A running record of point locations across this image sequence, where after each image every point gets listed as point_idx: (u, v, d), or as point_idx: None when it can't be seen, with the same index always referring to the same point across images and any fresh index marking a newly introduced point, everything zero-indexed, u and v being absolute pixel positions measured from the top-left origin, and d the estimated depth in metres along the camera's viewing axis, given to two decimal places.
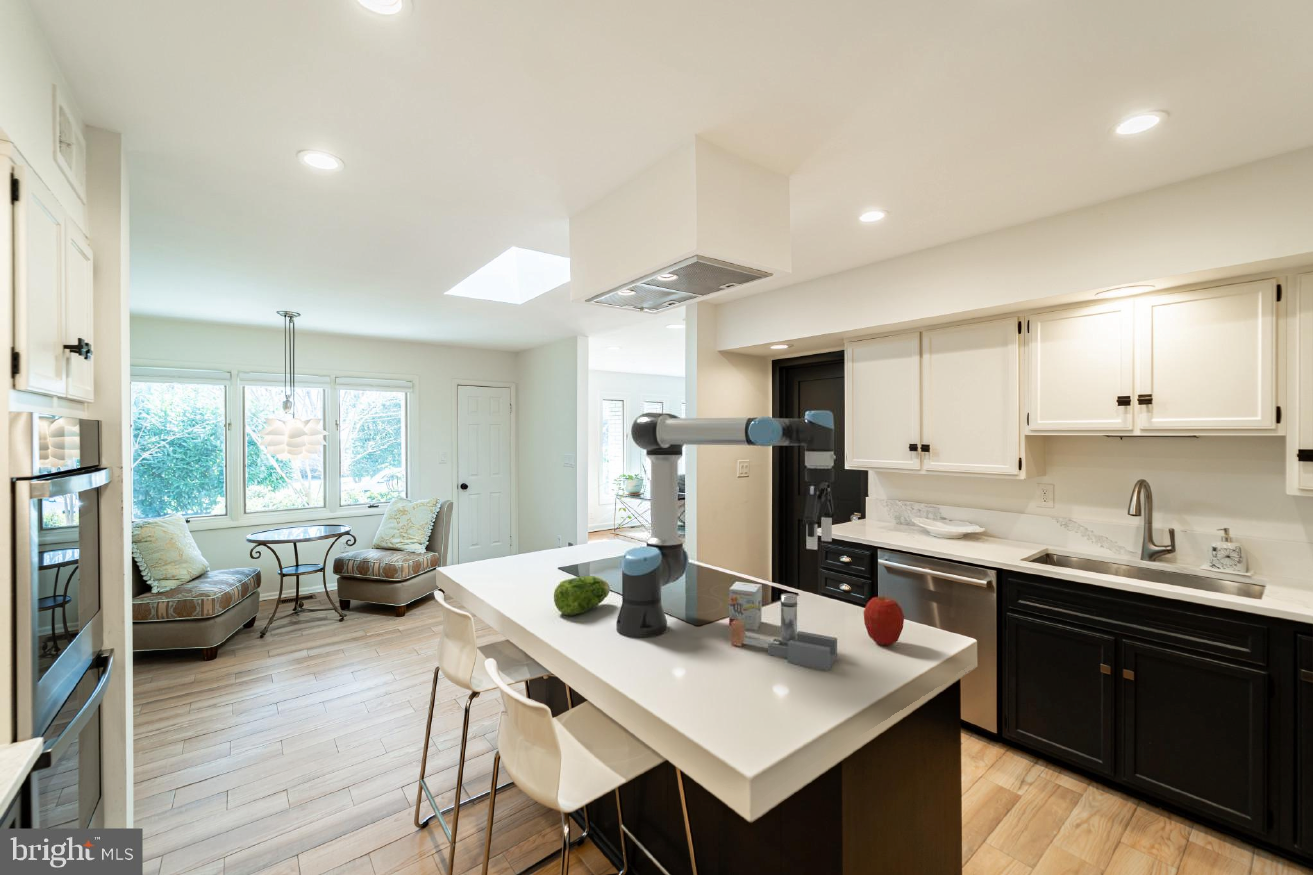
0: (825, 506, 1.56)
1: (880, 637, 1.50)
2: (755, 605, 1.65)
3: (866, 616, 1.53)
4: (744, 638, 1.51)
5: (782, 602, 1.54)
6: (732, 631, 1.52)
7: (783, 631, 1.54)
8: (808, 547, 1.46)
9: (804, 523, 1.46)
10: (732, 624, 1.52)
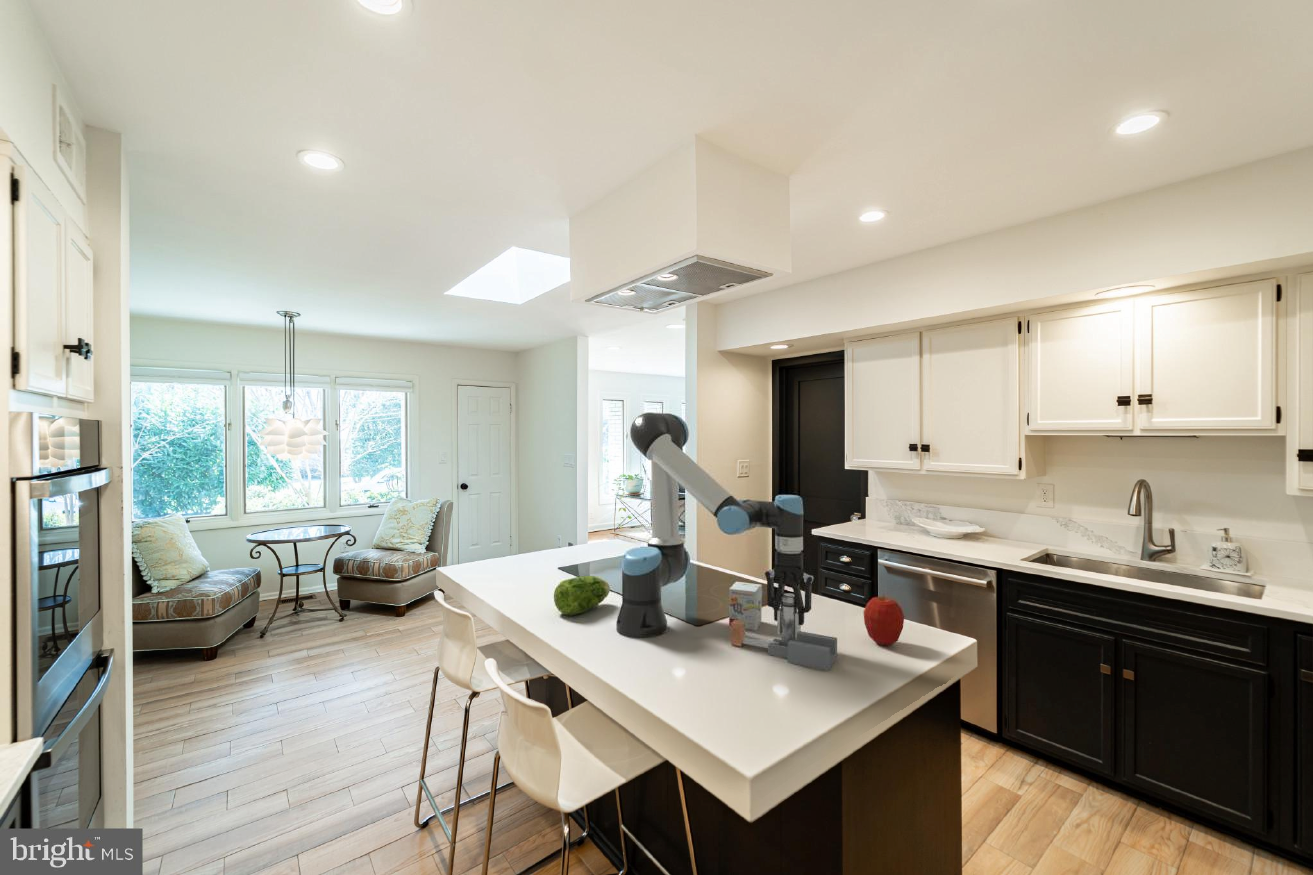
0: None
1: (880, 637, 1.50)
2: (755, 605, 1.65)
3: (866, 616, 1.53)
4: (744, 638, 1.51)
5: (782, 602, 1.54)
6: (732, 631, 1.52)
7: (783, 631, 1.54)
8: None
9: None
10: (732, 624, 1.52)
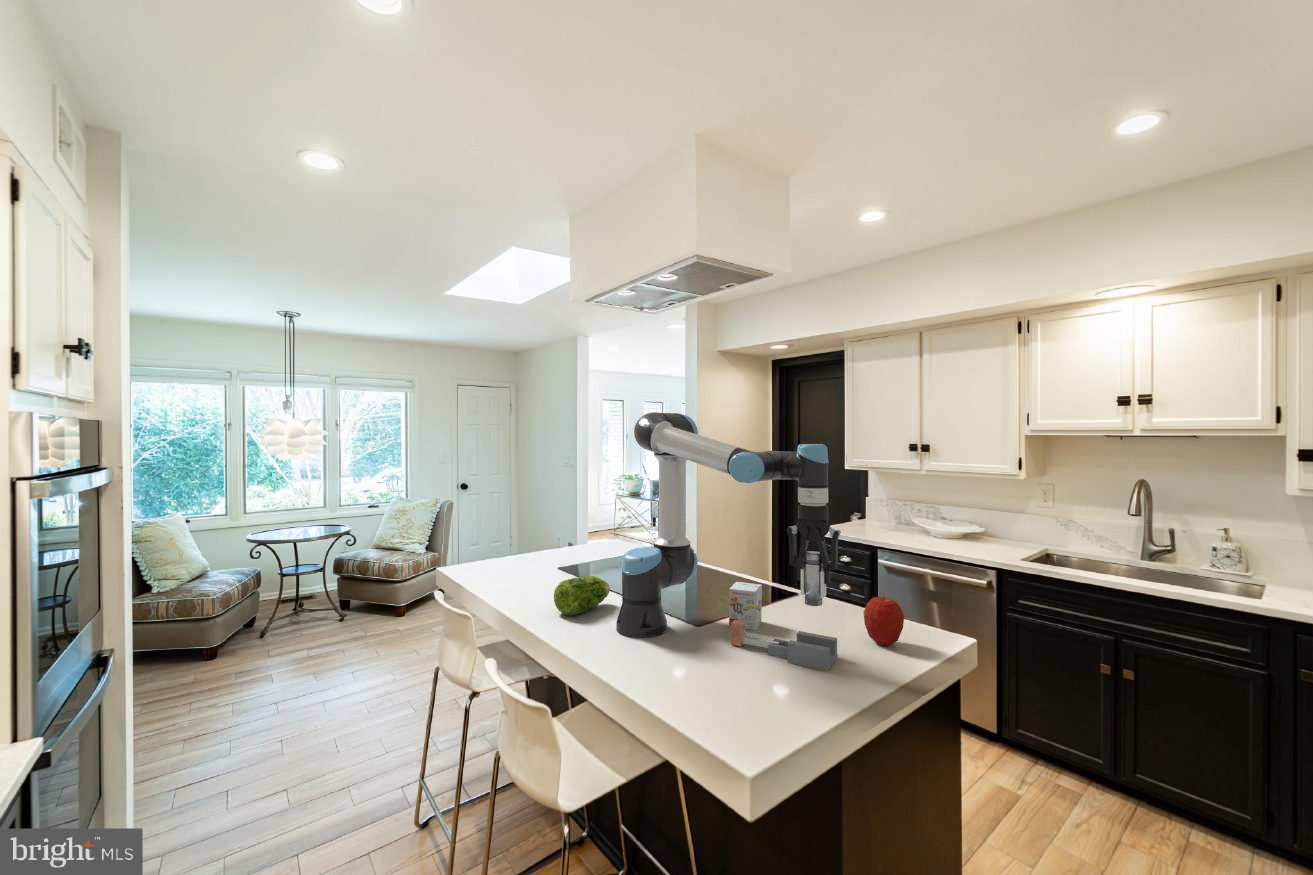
0: None
1: (880, 637, 1.50)
2: (755, 605, 1.65)
3: (866, 616, 1.53)
4: (744, 638, 1.51)
5: (806, 559, 1.42)
6: (732, 631, 1.52)
7: (807, 591, 1.41)
8: None
9: None
10: (732, 624, 1.52)
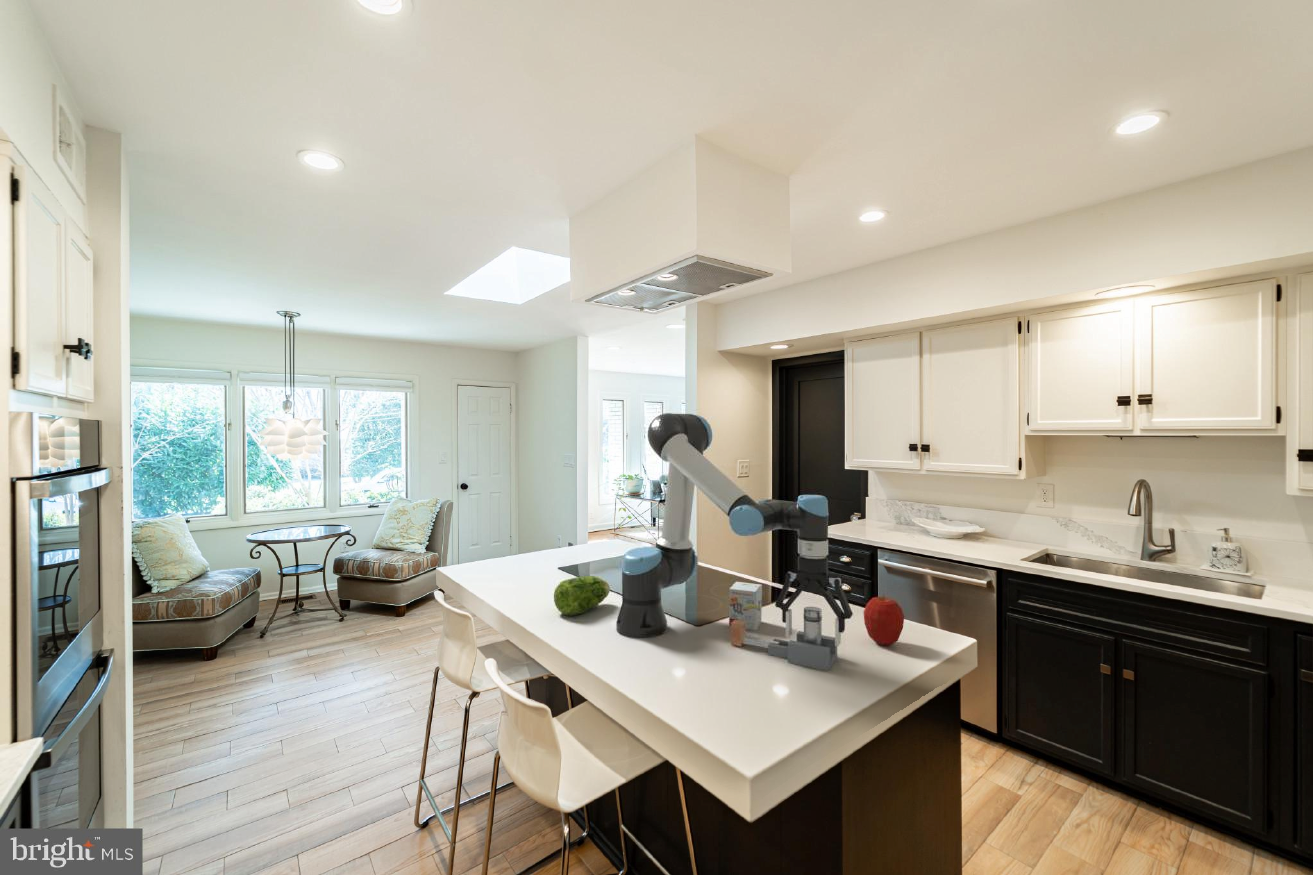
0: None
1: (880, 637, 1.50)
2: (755, 605, 1.65)
3: (866, 616, 1.53)
4: (744, 638, 1.51)
5: (805, 616, 1.42)
6: (732, 631, 1.52)
7: None
8: None
9: None
10: (732, 624, 1.52)
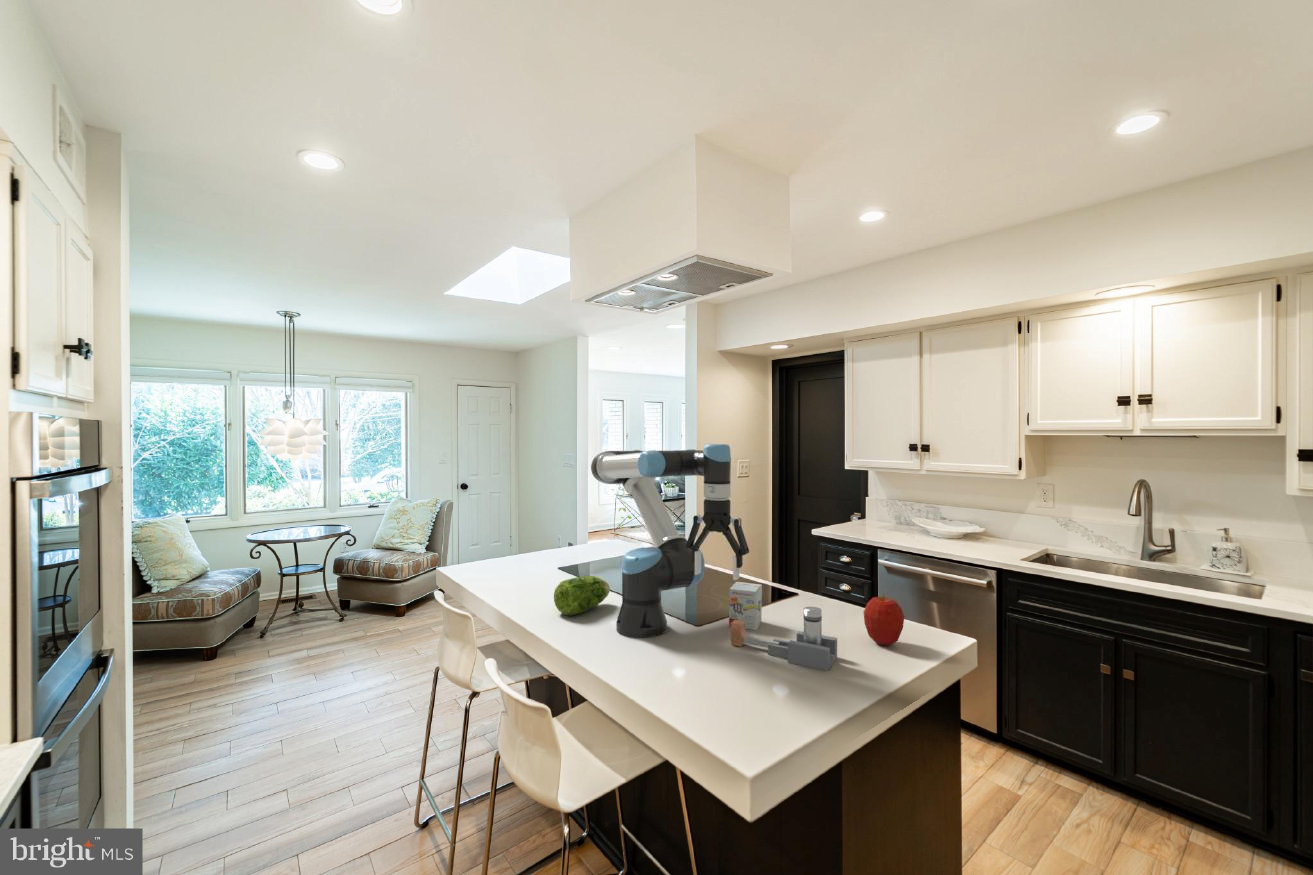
0: None
1: (880, 637, 1.50)
2: (755, 605, 1.65)
3: (866, 616, 1.53)
4: (744, 638, 1.51)
5: (805, 616, 1.42)
6: (732, 631, 1.52)
7: None
8: None
9: None
10: (732, 624, 1.52)
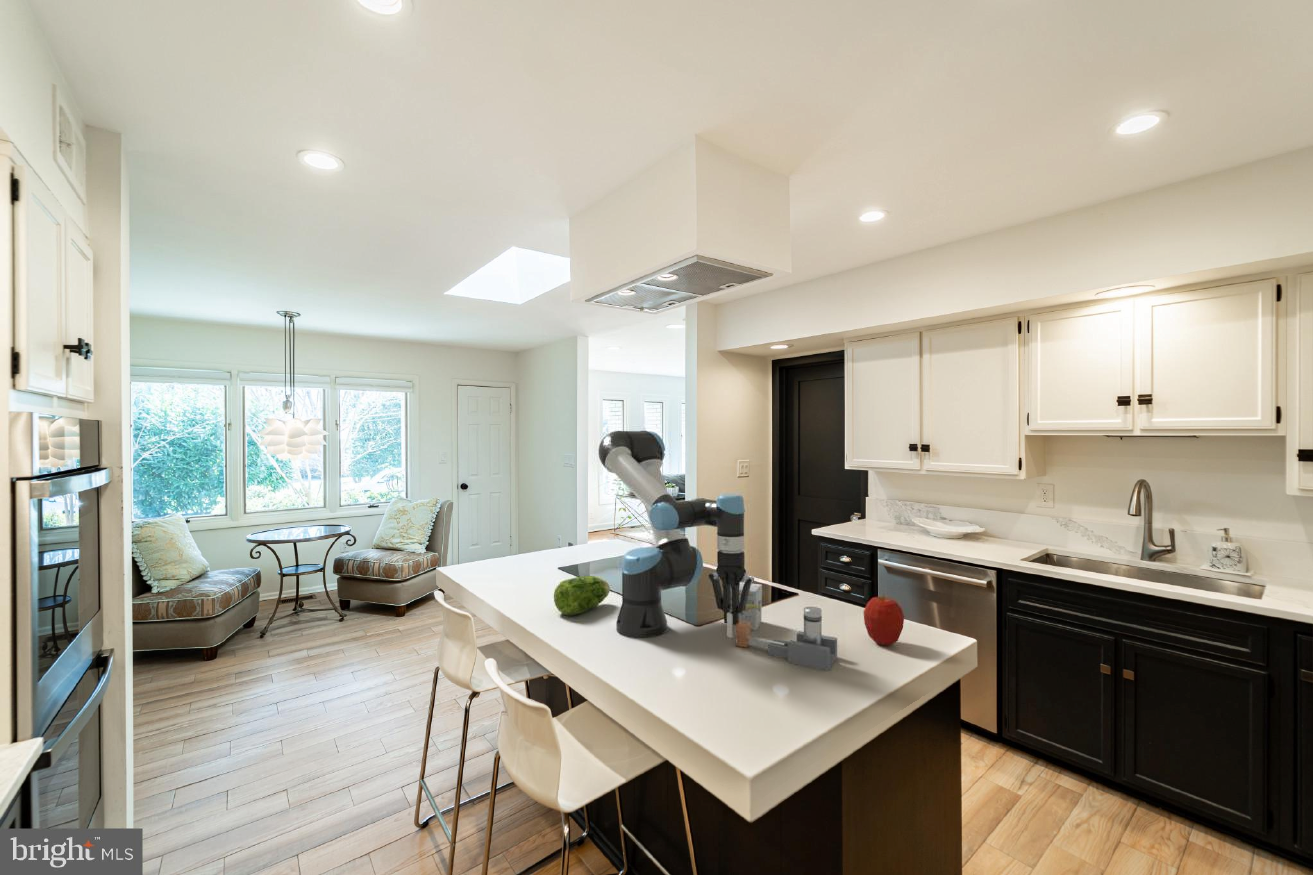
0: None
1: (880, 637, 1.50)
2: (755, 605, 1.65)
3: (866, 616, 1.53)
4: (749, 639, 1.50)
5: (805, 616, 1.42)
6: (737, 632, 1.51)
7: None
8: None
9: None
10: (737, 625, 1.51)
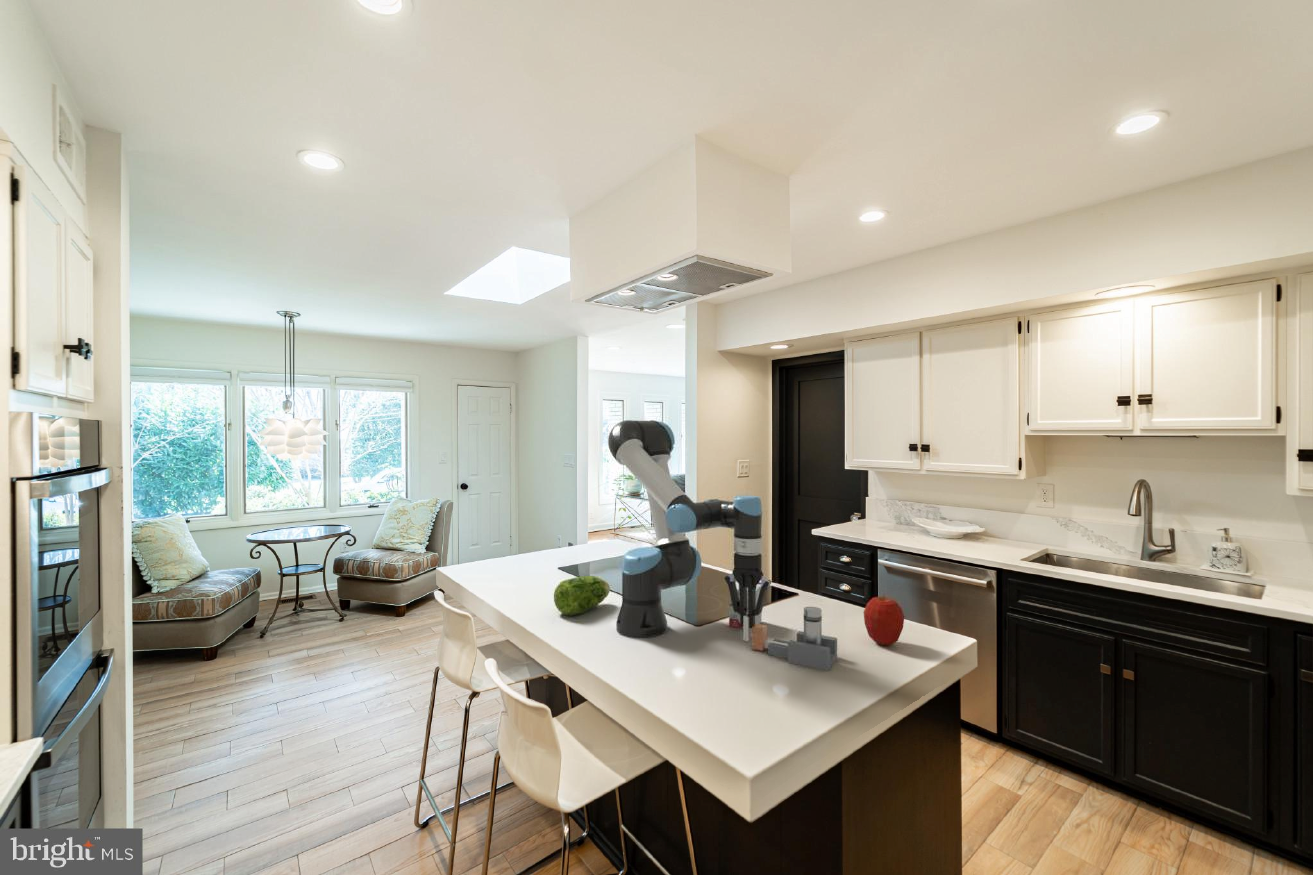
0: None
1: (880, 637, 1.50)
2: None
3: (866, 616, 1.53)
4: (766, 642, 1.48)
5: (805, 616, 1.42)
6: (753, 635, 1.49)
7: None
8: None
9: None
10: (753, 628, 1.49)
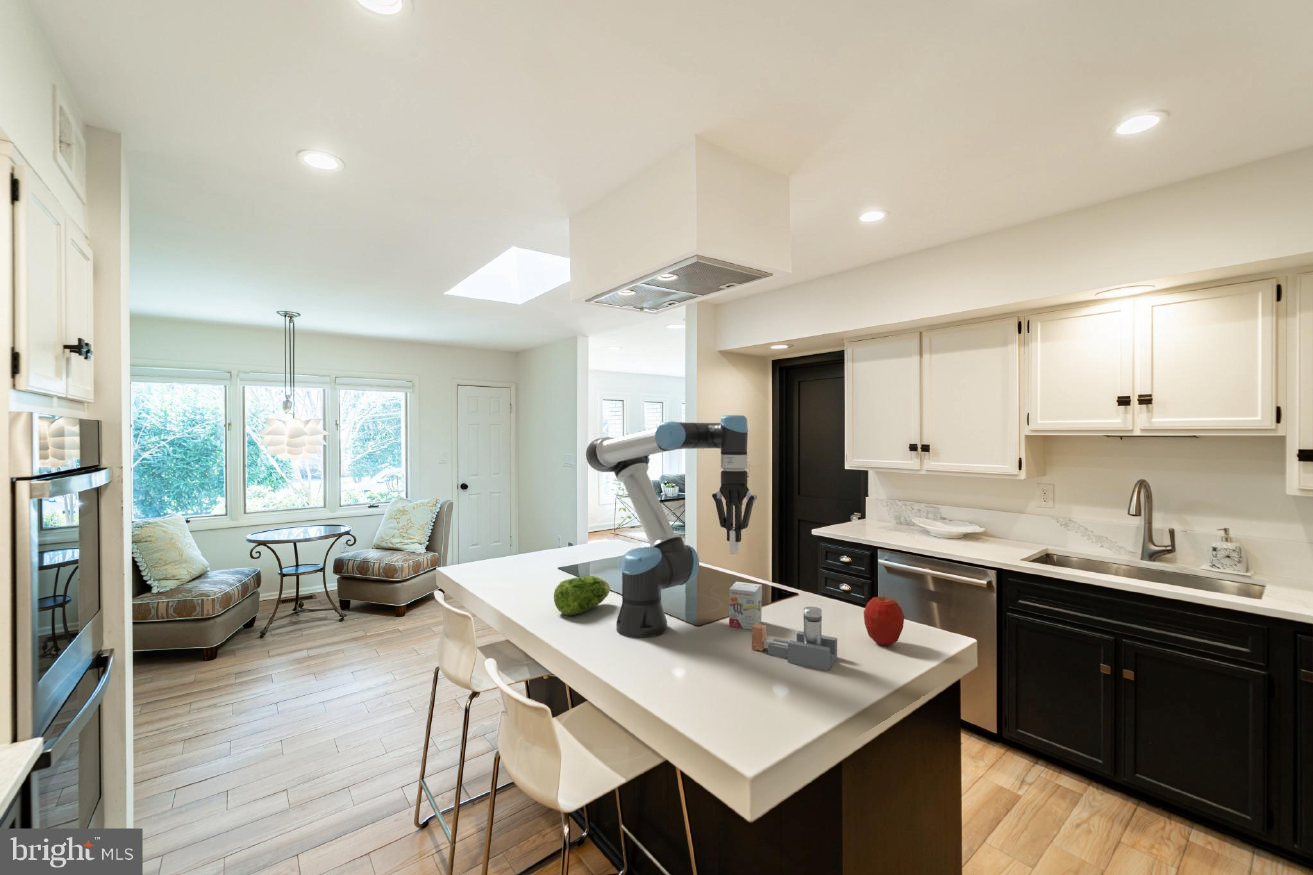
0: None
1: (880, 637, 1.50)
2: (755, 605, 1.65)
3: (866, 616, 1.53)
4: (765, 642, 1.48)
5: (805, 616, 1.42)
6: (753, 635, 1.49)
7: None
8: None
9: None
10: (753, 628, 1.49)
